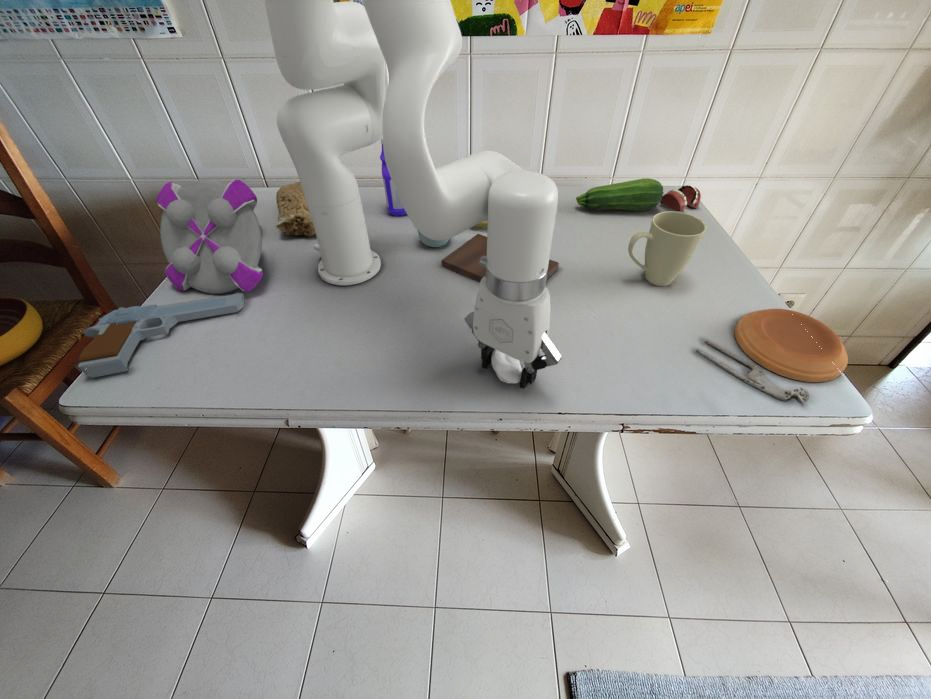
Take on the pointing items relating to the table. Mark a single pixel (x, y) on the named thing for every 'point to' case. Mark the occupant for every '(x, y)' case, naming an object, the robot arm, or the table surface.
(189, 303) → the handgun
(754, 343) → the saucer
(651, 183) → the vegetable
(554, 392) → the table surface
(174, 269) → the toy
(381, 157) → the bottle
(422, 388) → the table surface
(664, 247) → the mug
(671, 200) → the dentures
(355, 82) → the robot arm
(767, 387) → the nutcracker
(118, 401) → the table surface
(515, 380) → the dumpling
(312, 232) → the sponge
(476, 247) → the bread board
